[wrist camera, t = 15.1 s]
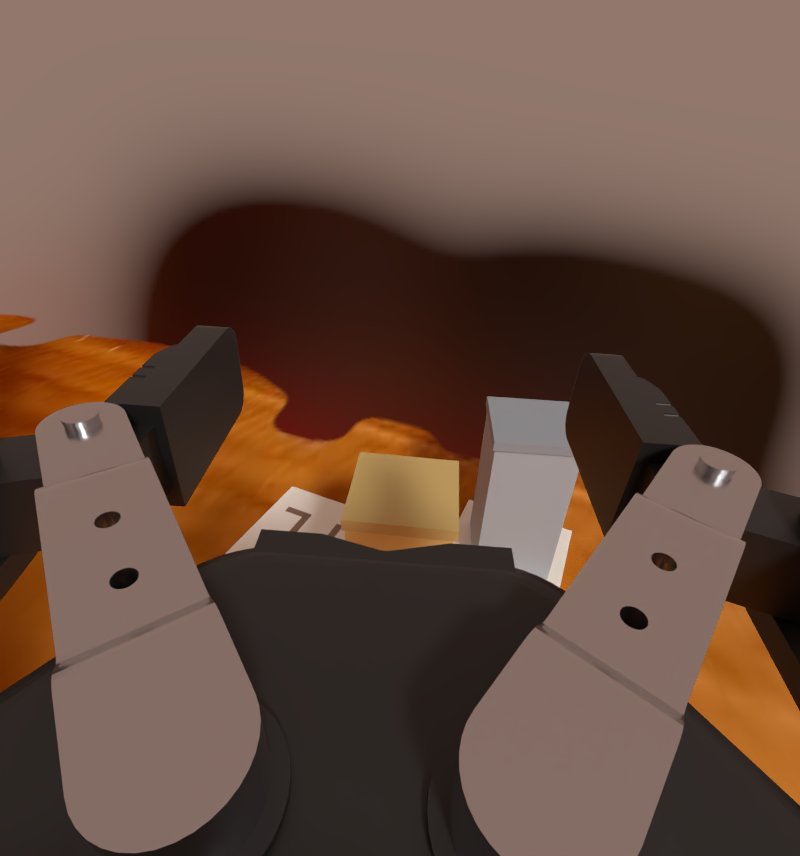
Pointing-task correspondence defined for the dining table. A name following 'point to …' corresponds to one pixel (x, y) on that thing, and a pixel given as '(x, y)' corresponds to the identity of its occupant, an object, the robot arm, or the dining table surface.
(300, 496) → the cream tile
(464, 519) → the cream tile
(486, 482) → the slate tea tin
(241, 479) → the dining table surface
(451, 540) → the ochre tea tin
